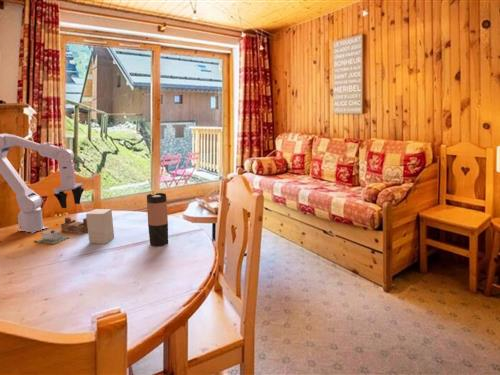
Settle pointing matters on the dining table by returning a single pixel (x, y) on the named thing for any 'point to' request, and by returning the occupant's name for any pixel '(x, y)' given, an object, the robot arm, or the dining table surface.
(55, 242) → the felt mat
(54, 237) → the lever cap
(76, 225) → the plane body
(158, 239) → the travel mug
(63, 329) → the dining table surface
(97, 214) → the supplement box
